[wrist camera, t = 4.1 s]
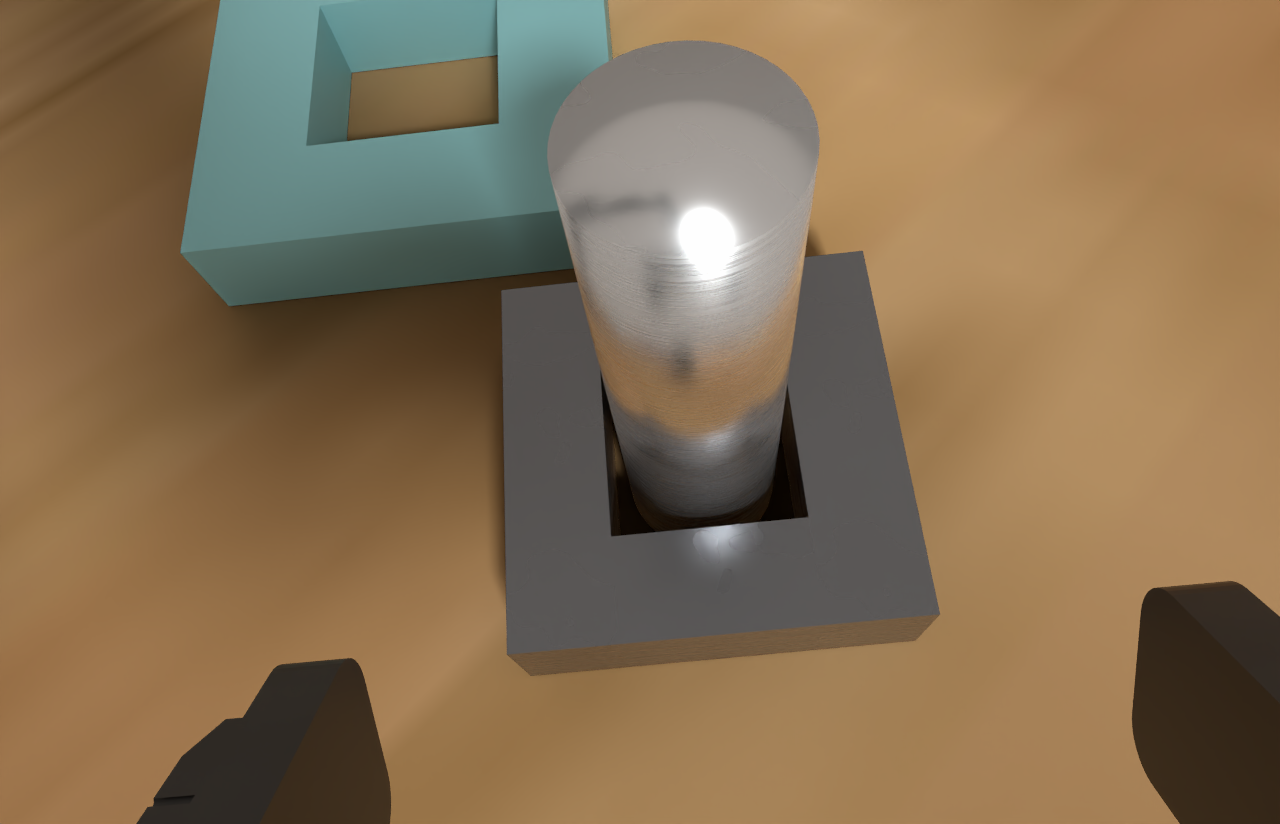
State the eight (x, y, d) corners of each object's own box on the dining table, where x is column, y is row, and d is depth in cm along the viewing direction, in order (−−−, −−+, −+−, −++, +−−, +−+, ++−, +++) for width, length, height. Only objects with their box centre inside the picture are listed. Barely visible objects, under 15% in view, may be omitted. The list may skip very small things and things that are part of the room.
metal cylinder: (636, 554, 26) (552, 270, 13) (626, 421, 27) (542, 56, 15) (782, 539, 26) (840, 238, 13) (763, 407, 27) (797, 26, 15)
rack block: (229, 306, 30) (180, 253, 28) (266, 14, 36) (228, -54, 33) (629, 261, 30) (620, 203, 27) (605, -27, 35) (595, -100, 32)
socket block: (531, 675, 25) (507, 654, 22) (522, 342, 29) (501, 290, 26) (915, 640, 24) (940, 614, 21) (849, 307, 28) (862, 251, 26)
